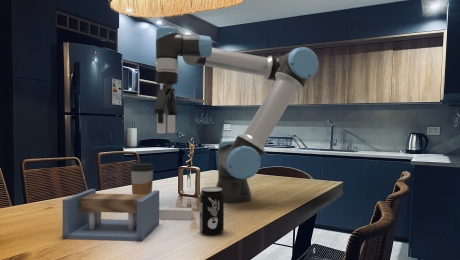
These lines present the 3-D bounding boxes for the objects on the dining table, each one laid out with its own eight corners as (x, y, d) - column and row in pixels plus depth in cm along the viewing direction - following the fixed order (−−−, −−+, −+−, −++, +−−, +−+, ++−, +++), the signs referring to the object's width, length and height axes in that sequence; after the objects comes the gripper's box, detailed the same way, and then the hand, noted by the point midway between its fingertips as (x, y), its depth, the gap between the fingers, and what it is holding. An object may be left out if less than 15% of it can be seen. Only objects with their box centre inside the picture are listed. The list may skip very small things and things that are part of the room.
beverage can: (228, 232, 92) (228, 188, 92) (211, 238, 87) (211, 192, 87) (211, 227, 96) (211, 185, 96) (194, 232, 91) (194, 188, 91)
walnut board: (147, 206, 95) (147, 194, 95) (138, 213, 89) (138, 199, 88) (92, 205, 97) (92, 193, 97) (80, 211, 90) (80, 198, 90)
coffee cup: (147, 207, 120) (147, 165, 120) (126, 206, 121) (126, 165, 121) (157, 202, 128) (157, 163, 128) (137, 201, 130) (137, 162, 130)
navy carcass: (159, 224, 99) (159, 190, 99) (142, 241, 84) (142, 201, 84) (90, 222, 101) (90, 189, 101) (62, 238, 86) (62, 199, 86)
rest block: (192, 217, 107) (192, 208, 107) (190, 220, 104) (190, 210, 104) (161, 216, 107) (161, 207, 107) (158, 219, 104) (159, 209, 104)
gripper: (165, 77, 129) (165, 132, 130) (144, 65, 104) (144, 133, 105) (184, 77, 129) (184, 132, 129) (168, 65, 104) (168, 133, 104)
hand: (166, 133), depth 117 cm, fingers open, 13 cm apart
